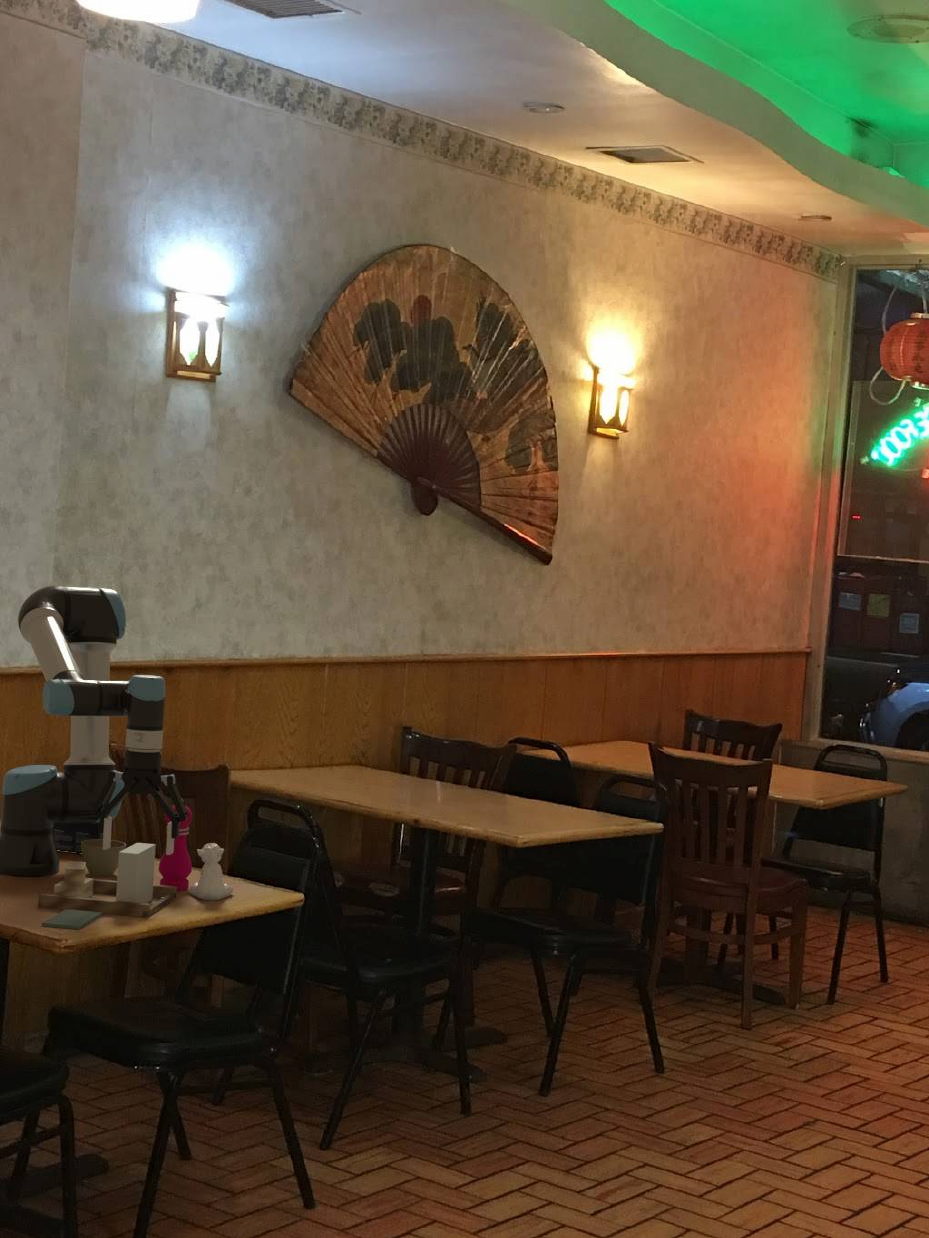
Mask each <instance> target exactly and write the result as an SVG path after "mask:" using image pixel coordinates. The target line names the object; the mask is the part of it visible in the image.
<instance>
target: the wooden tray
mask: <svg viewBox="0 0 929 1238" xmlns="http://www.w3.org/2000/svg"><path fill="white" fill-rule="evenodd" d="M177 892H178V891H177V887H176V886H165V885H160V884H154V883H153V897H164V898H160V899H159V900H157V901H156V902H154V903H152V904H150V903H137V902H126V901H116V899H103V898H96V897H95V898H93V897H90V898H84V897H74V896H63V895H54V892H53V893H51V894H50V893H39V894H38V902H37V908H43V907H44V908H45V909H46V908H47V909H56V910H63V911H64V910H66V909H73V910H84V911H94V912H103V914H107V915H108V914H110V915H116V916H117V915H119V916H127V917H129V916H130V917H139V918H149V917H150V916H152V915H153V914H154V912H155V911H156V910H158V909H159V908H161V907H162V908H164V907H165V906H166V904H167V903H168V904H169V902H170V901H171V902H172V900H173V899H174V898H176V899H177ZM93 893H102V894H103V893H104V894H110V893H111V894H113V895H116V893H117V880H111V879H98V878H93ZM174 900H175V899H174ZM174 900H173V901H174ZM171 902H170V903H171ZM168 904H167V905H168ZM163 906H164V907H163ZM162 908H161V909H162ZM159 910H160V909H159ZM159 910H158V911H159ZM156 912H157V911H156ZM156 912H155V913H156ZM152 913H153V914H152ZM151 914H152V915H151ZM148 916H149V917H148Z"/></svg>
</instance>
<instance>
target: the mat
mask: <svg viewBox="0 0 929 1238" xmlns="http://www.w3.org/2000/svg"><path fill="white" fill-rule="evenodd" d="M103 915H104V913H103V912H94V911H84V910H73V909H66V910H64V909H63V910H62V911H61V912H59V913H57V914H55V915H54V916H52V917H50V918H48V919H47V920H45V921H43V922H41V927H50V928H60V929H67V930H68V929H69V930H70V929H71V930H81V929H83V928H85V926H87V925H89V924H91V923H92V922H94V921H95V920H97V919H99V918H100V917H102V916H103Z"/></svg>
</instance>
